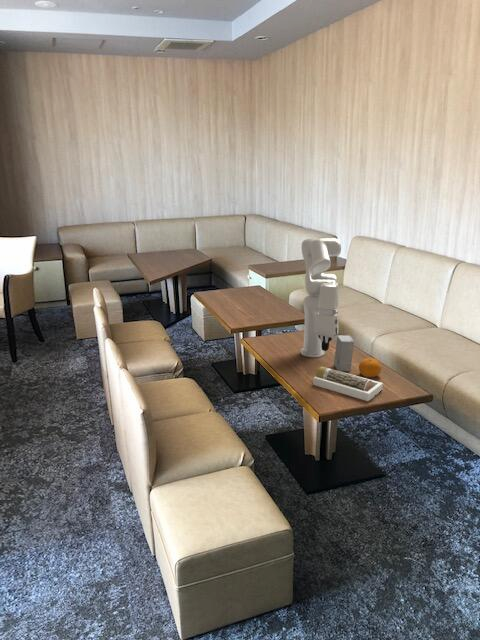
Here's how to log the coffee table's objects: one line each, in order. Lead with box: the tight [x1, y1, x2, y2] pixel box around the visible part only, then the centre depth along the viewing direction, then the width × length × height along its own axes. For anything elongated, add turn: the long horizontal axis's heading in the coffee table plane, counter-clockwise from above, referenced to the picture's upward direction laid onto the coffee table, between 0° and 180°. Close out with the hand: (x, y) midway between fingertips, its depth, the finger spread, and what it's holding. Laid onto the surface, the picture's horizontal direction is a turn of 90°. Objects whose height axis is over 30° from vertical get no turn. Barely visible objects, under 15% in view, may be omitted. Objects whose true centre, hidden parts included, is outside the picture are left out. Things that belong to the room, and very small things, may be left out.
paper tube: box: [315, 366, 372, 392], centre depth 236 cm, size 7×7×25 cm
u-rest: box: [312, 368, 384, 402], centre depth 236 cm, size 14×27×4 cm, turn 52°
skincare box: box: [333, 334, 355, 372], centre depth 256 cm, size 8×7×16 cm
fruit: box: [358, 357, 382, 378], centre depth 249 cm, size 10×10×8 cm
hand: (325, 349), depth 240 cm, fingers closed
